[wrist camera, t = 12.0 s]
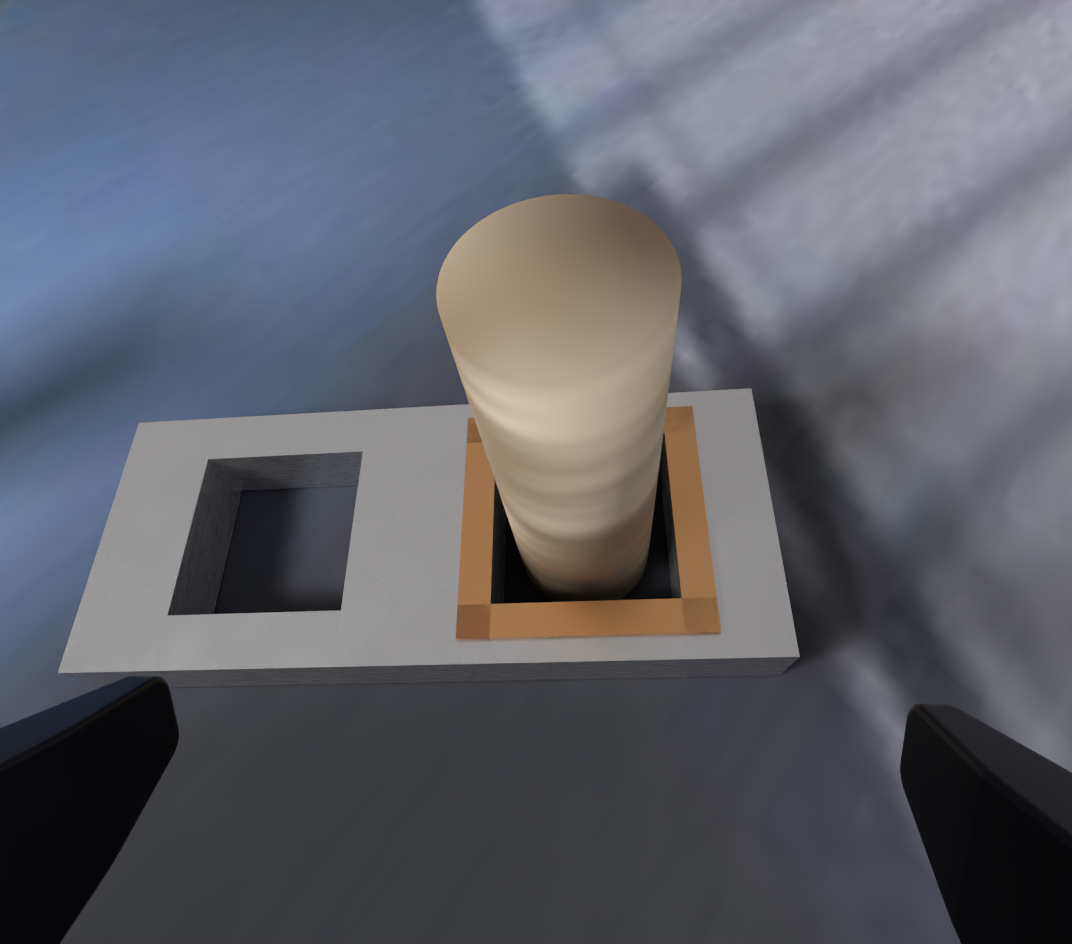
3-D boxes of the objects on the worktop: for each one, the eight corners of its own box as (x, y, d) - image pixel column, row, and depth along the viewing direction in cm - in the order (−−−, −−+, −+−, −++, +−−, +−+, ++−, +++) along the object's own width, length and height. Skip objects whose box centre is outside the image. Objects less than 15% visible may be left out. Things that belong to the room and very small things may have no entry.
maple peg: (675, 547, 23) (734, 271, 12) (584, 636, 22) (553, 426, 11) (584, 468, 25) (559, 163, 14) (496, 548, 24) (388, 287, 13)
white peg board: (739, 427, 25) (752, 384, 23) (780, 675, 21) (801, 655, 19) (177, 456, 27) (135, 419, 25) (110, 688, 23) (52, 671, 21)
